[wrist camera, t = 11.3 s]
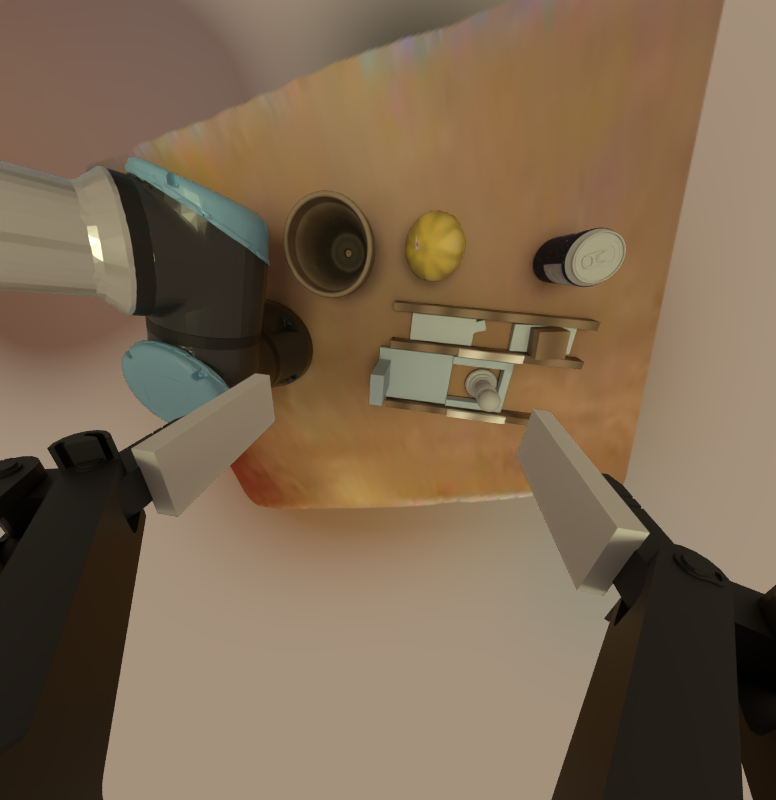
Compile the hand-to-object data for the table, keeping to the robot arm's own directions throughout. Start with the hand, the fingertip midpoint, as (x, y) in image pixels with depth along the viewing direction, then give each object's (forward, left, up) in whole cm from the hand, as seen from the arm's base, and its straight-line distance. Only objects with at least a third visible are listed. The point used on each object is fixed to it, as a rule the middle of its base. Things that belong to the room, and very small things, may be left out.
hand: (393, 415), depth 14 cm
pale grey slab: (+5, -11, -34) cm, 36 cm away
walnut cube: (+20, -2, -34) cm, 39 cm away
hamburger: (+1, +9, -35) cm, 36 cm away
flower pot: (-12, +8, -35) cm, 38 cm away
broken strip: (+12, -2, -35) cm, 37 cm away
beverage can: (+18, +9, -35) cm, 40 cm away
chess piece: (+12, -11, -35) cm, 38 cm away
